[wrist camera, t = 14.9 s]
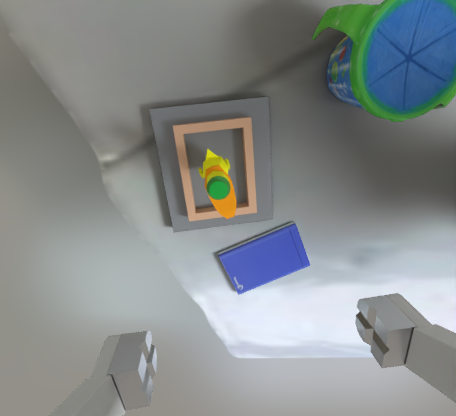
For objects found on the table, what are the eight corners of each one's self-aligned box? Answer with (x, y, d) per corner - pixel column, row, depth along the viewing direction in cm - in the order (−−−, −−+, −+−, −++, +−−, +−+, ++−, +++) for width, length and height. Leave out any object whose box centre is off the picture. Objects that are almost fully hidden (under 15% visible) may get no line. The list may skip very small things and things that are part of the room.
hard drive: (238, 295, 42) (310, 266, 41) (218, 256, 39) (296, 224, 38) (237, 289, 44) (307, 260, 43) (217, 251, 40) (292, 219, 40)
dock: (266, 96, 32) (272, 96, 29) (270, 214, 38) (275, 223, 36) (151, 108, 32) (146, 109, 29) (174, 227, 38) (172, 237, 35)
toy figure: (237, 187, 35) (252, 227, 23) (211, 196, 35) (215, 239, 24) (220, 138, 32) (228, 155, 21) (193, 148, 32) (187, 170, 21)
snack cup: (278, 69, 31) (311, 55, 22) (336, -21, 28) (403, -82, 19) (366, 142, 36) (426, 156, 26) (425, 69, 33) (514, 57, 24)
